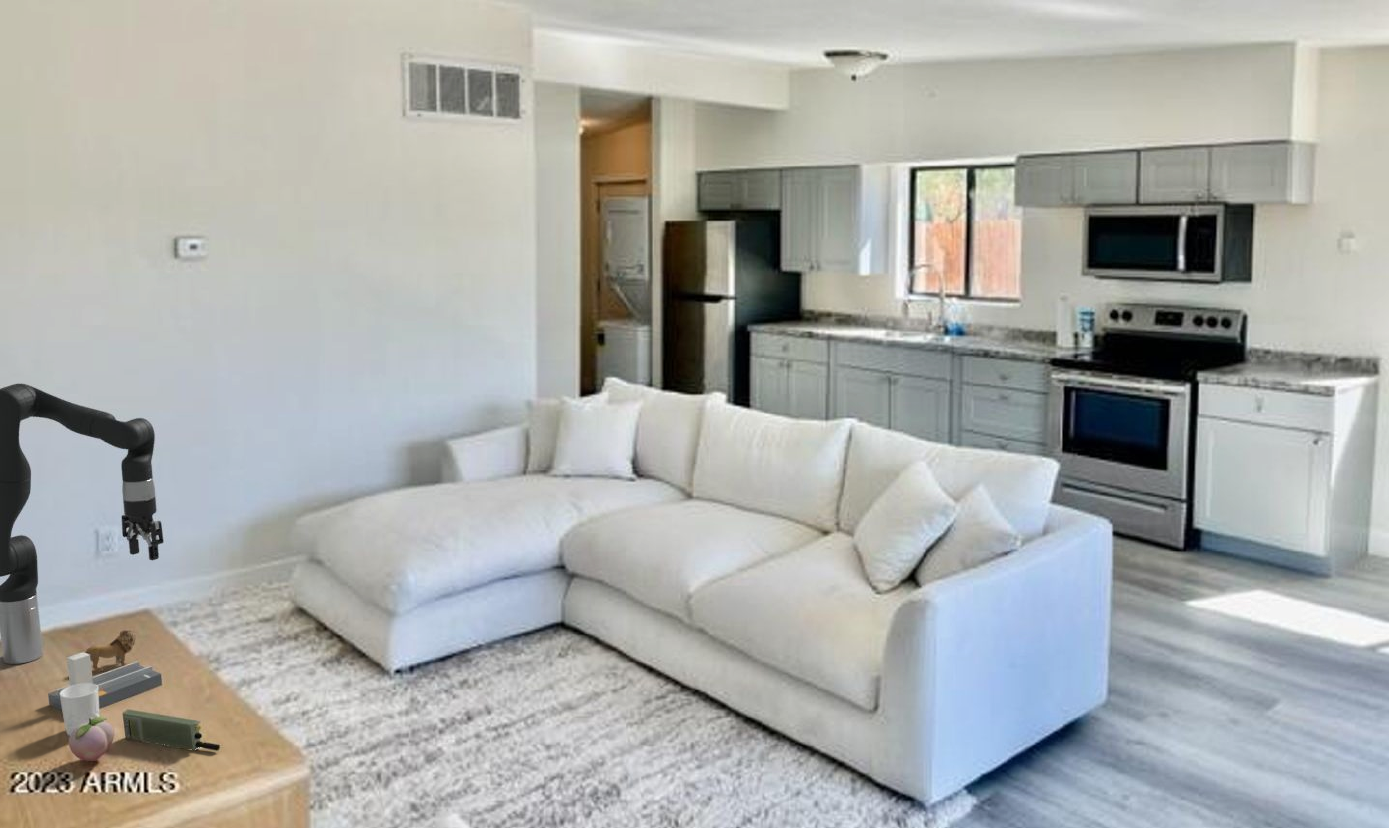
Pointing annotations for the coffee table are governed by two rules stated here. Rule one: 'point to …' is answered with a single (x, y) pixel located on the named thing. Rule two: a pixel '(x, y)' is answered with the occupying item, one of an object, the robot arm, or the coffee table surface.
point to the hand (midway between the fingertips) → (144, 556)
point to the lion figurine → (113, 649)
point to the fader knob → (79, 669)
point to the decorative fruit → (91, 739)
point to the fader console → (118, 684)
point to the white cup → (79, 704)
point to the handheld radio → (164, 730)
